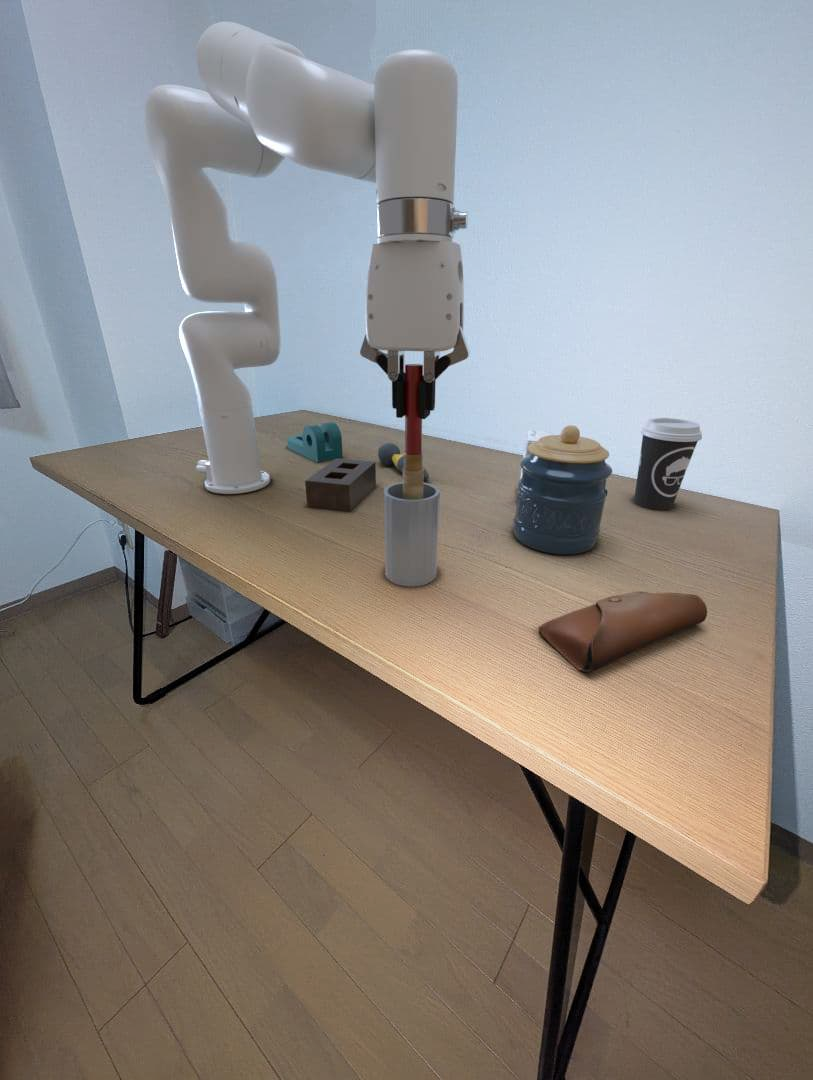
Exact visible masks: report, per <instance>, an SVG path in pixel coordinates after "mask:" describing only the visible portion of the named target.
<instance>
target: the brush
mask: <svg viewBox="0 0 813 1080" xmlns="http://www.w3.org/2000/svg"><path fill="white" fill-rule="evenodd" d="M423 375H424V364H423V363H421V364H420V363H407V364H406V363H405V416H404V453H403V455H404V468H403V473H402V482H403V499H407V500H418V499H423V489H424V483H425V482H424V481H425V480H424V468H425V467H424V466H423V419H420V418H419V417H418V406H419V383H421V382H422V376H423ZM422 466H423V467H424V468H423V467H422Z"/></svg>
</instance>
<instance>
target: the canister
mask: <svg viewBox="0 0 813 1080" xmlns="http://www.w3.org/2000/svg"><path fill="white" fill-rule="evenodd" d="M528 450H529V452H530V454H529V455H528V456H526V457H524V458H523V457H522V459H521V460H520V462H519V464H520V467H521V469H523V475H522V478H521V479H520V478H519V480H518V482H517V486H518V487H517V488H518V490H517V498H516V507H515V514H514V517H513V522H512V523H513V524H512V525H513V534H514V537H515V538H516V540H518V541H519V542H520V543H521V544H523V545H525V547H528V548H530V549H532V550H536V551H539V552H542V553H546V554H547V553H548V554H553V555H578V554H582V553H585V552H588V551H590V550H592V549H593V548H594V547H595V545H596V544H597V543H596V542H597V541H598V539H599V536H600V533H601V532H600V531H601V527H600V525H601V521H602V517H603V512H604V507H605V502H606V497H607V496H608V493H609V492H608V489H607V487H606V486H607V479H608V478H609V477H610V476H611V475H612V474H613V468H612V467H611V465H610V464H608V463H607V462H606V460H607V459H608V458H609V457H610V453H609V451H608V449H606V448H605V447H603V446H602V445H601V443H600V442H599V441H597V440H594V439H592V438H589V437H584V436H581V431H580V429H579V428H578V427H577V426H576V425H572V424H570V425H566V426H564V427H563V428H562V430H561V432H560V434H553V435H550V436H544V437H542V438H540V439H539V440H538V441H536V442H533V443H531V444H530V445H529V446H528Z"/></svg>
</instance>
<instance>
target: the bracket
mask: <svg viewBox="0 0 813 1080" xmlns="http://www.w3.org/2000/svg"><path fill="white" fill-rule="evenodd" d="M301 433H302V434H298V435H297V434H296V435H291V436H288V437H286V442H287V448H288V450H290V451H293V452H295V453H297V454H299V455H301V456H303V457H305V458H308V459H309V460H312V461H314V462H316V463H319V464H320V463H323V462H324V463H325V462H329V461H333V460H335V459H336V458H340V459H344V455H343V438H342V433H341V430H340V427H339V425H338V424H337V423H336V422H334V421H329V422H324V423H321V424H320V426H319V425H318V424H309V425H305V426H304V427H303V429H302V432H301Z"/></svg>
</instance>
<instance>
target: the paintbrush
mask: <svg viewBox="0 0 813 1080" xmlns="http://www.w3.org/2000/svg"><path fill="white" fill-rule="evenodd" d="M377 457H378V460H379V461H380V462H381V463H382V464H383V465H385V466H395V467H396V468H397V470H398V471H400V472H401V473H402V474H403V468H404V454H401V450H400V448H399V446H397V444H394V443H391V442H389V443H384V444H382V445H381V446H379V448H378V450H377ZM422 467H423V468H424V481H427V480H429V479H430V474H429V473H428V471H427V469H425V467H424V466H423V465H422Z"/></svg>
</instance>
